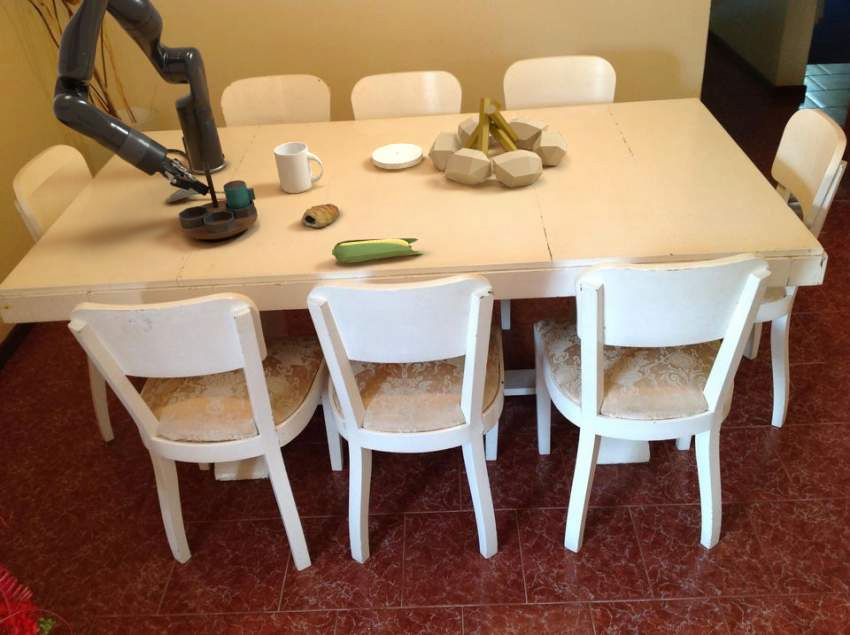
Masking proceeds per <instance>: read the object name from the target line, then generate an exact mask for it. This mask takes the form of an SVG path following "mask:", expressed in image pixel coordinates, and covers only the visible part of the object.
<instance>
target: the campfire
mask: <svg viewBox="0 0 850 635" xmlns="http://www.w3.org/2000/svg"><path fill="white" fill-rule="evenodd" d="M502 107H503V105H502V104H500V102H498V101H497V100H493V101H492V102H491V98H489V97H482V98H480V99H479V114H478V115H476V116H470V117H468V118H467V119H465V120H463V121H462V122H459V123H458V126H457V131H440V132H439V133H438V134H437V135H436V138H435V140H434V141H433V144H432V145H431V147H430V149H429V152H428V154H427V156H428V157H429V159H430V160H431V162H432V163H433V166H435V168H436V169H438V170H443V171H444V175H443V177H444V178H446V179H449V180H451V181H453V182H456V183H458V184H462V185H466V186H467V185H468V186H474V185H477V184H478V185H479V184H481V183H484V182H485V181H487V180H488V179H489V178H490V177H491V176H492V165H493V169H494V175H495V179H496V180H498V181H500V182H501V183H503V184H504V185H506V186H508V187H510V188H511V189H512V188H518V187H522V186H529V185H532V184H533V183H535V182H536V180H538V179H539V178H540V177H541V176H542V175H543V174H544V172H543V171H544V169H543V166H549V167H551V166H553V167H554V166H556V167H557V166H559V164H560V163H561V161H562V160H563V158H564V157H565V156H566V154H567V153H568V143H567V141H566V139H565V138H564V136H563V135H562V133H561V131H559V130H558V131H557V130H556V131H553V130H552V131H551V130H550V131H549V130H548V129H549V125H550V124H549V123H548V122H546V121H543V120H540V119H538V118H536V117H530V116H520V117H516V118H513V119H511V120H509V121H507V120H506V119H505V117H504V116H503V115H502V113H501V112H500V110H501V109H502ZM495 142H496V143H497V144H498V145H499V147H500V148H501V149H502V150H503V151H504V152H505V153H502V154H498V155H496V156H493V157H491V160H492V162H491V160H490V159H489V148H491V147H492V146H493V144H494V143H495Z"/></svg>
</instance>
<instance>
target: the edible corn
mask: <svg viewBox="0 0 850 635" xmlns="http://www.w3.org/2000/svg"><path fill="white" fill-rule="evenodd" d="M418 240H419V239H418V238H415V237H406V238H405V237H400V238H399V237H398V238H369V239H367V238H366V239H350V240H343V241H340V242H337V243H336V244H335V245H334V247H333V249H331V254H332V255H331V256H334V257H335V259H336V260H337V261H338V262H340V263H342V264H355V263H362V262H368V261H374V260H381V259H388V258H394V257H395V258H397V257H403V256H411V255H413V256H414V255H421V254H424V253H425V251H422V250H413V246H412V245H410V244H413V243H415V242H418Z"/></svg>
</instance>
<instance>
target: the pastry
mask: <svg viewBox="0 0 850 635" xmlns="http://www.w3.org/2000/svg"><path fill="white" fill-rule="evenodd" d="M339 215H340V210H339V207H338V205H335V204H333V203H325V204H320V205H319V204H318V205H312V206H311V208H307V209H306V210H305V212H304V213H303V214H302V217H301V223H302V224H304V226H306V227H313V228H317V229H318V228H324V227H326V226H327V225H328V224H332V223H333V221H335V220H336V219H337V218H338V216H339Z"/></svg>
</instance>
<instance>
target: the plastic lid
mask: <svg viewBox="0 0 850 635" xmlns="http://www.w3.org/2000/svg"><path fill="white" fill-rule="evenodd" d="M423 151H424V150H423V148H422V147H420V146H419V145H416V144H412V143H403V142H402V143H392V144H386V145H384V146H381V147H378V148H377V149H375V150H373V152H372V154H371V160H372V163H373V165H374V166H375V167H378V168H382V169H388V170H397V169H406V168H410V167H414V166H415V165H418V164H419V163H420V162H422V160H423V159H424V152H423Z"/></svg>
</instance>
